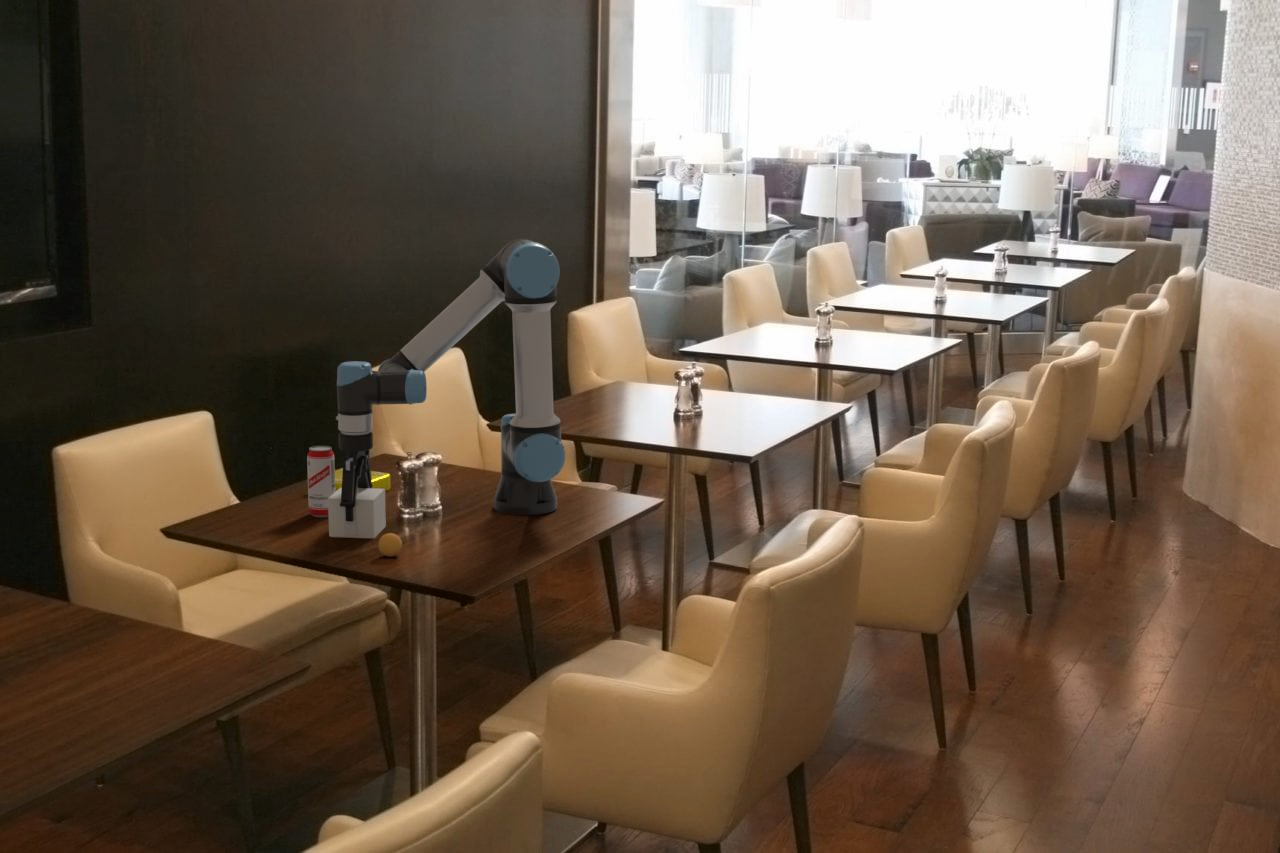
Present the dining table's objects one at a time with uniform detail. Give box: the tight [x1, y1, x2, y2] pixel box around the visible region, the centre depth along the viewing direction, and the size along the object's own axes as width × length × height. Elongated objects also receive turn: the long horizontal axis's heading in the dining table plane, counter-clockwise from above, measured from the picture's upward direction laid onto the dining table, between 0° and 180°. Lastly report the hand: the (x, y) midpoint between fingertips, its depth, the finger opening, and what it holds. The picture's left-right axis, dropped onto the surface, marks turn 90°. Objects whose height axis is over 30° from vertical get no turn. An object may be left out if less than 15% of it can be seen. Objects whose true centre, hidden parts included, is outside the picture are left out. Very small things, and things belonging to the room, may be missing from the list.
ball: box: [377, 532, 403, 558], centre depth 318 cm, size 5×5×5 cm
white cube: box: [328, 487, 387, 539], centre depth 336 cm, size 10×10×9 cm
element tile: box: [335, 467, 391, 492], centre depth 373 cm, size 15×15×5 cm
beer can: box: [306, 445, 336, 518], centre depth 349 cm, size 6×6×16 cm
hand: (357, 527), depth 337 cm, fingers closed on white cube, 10 cm apart
